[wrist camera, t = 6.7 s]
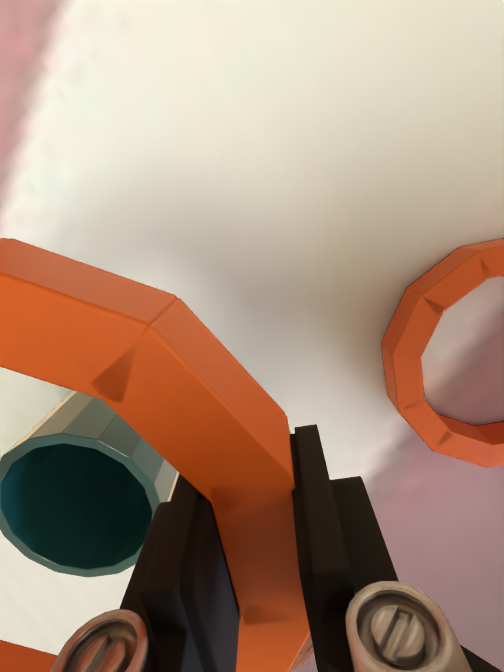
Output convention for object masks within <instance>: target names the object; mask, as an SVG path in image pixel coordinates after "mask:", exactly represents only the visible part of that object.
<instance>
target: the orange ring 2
mask: <svg viewBox="0 0 504 672" xmlns="http://www.w3.org/2000/svg"><path fill="white" fill-rule="evenodd" d="M500 276H504V238H502V239H497V240H492V241H487V242H482V243H477V244H472V245H467V246H462V247H460V248H457V249H456V250H455V251H454V252H452V253H451V254H450V255H449V256H447V257H446V258H445V259H443V260H442V261H441V262H440V263H438V264H437V265H436V266H435V267H433V268H432V269H431V270H429V271H428V272H427V273H426V274H424V275H423V276H422V277H421V278H419V279H418V280H417V281H415V282H414V283H413V284H412V285H410V286H409V287H408V288H407V289H406V290H405V292H404V294H403V297H402V299H401V301H400V303H399V305H398V307H397V310H396V312H395V314H394V316H393V318H392V321H391V323H390V325H389V327H388V329H387V331H386V334H385V336H384V338H383V340H382V342H381V343H382V344H381V345H382V354H383V362H384V371H385V379H386V388H387V395H388V397H389V398H390V400H391V402H392V403H393V405H394V406H395V408H396V409H397V411H398V412H399V413H400V414H401V415H402V417H403V418H404V419H405V420H406V421H407V422H408V423H409V425H410V426H411V427H412V428H413V429H414V430H415V431H416V433H417V434H418V435H419V436H420V437H421V438H422V440H423V441H424V442H425V443H426V444H427V445H428V446H429V448H430V449H431V450H432V451H435V452H438V453H441V454H444V455H448V456H451V457H454V458H457V459H460V460H464V461H467V462H470V463H473V464H476V465H480V466H483V467H487V468H488V467H495V466H501V465H504V422H498V423H492V424H486V425H479V426H472V425H469V424H466V423H463V422H460V421H457V420H453V419H450V418H447V417H444V416H441V415H438V414H436V413H435V412H434V410H433V409H432V408H431V407H430V406H429V404H428V403H427V402H426V401H425V400H424V389H423V377H422V365H421V356H422V354H423V352H424V350H425V348H426V346H427V344H428V342H429V340H430V338H431V336H432V334H433V332H434V330H435V328H436V326H437V324H438V322H439V320H440V318H441V316H442V314H443V312H444V311H445V310H447V309H448V308H449V307H451V306H452V305H453V304H455V303H456V302H457V301H459V300H460V299H461V298H463V297H464V296H465V295H467V294H468V293H469V292H471V291H472V290H473V289H475V288H476V287H477V286H479V285H480V284H481V283H483V282H484V281H485V280H487V279H490V278H495V277H500Z"/></svg>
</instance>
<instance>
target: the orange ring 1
mask: <svg viewBox="0 0 504 672" xmlns="http://www.w3.org/2000/svg"><path fill="white" fill-rule="evenodd" d="M0 367H3V368H6V369H10V370H13V371H16V372H19V373H22V374H25V375H28V376H31V377H34V378H37V379H40V380H43V381H46V382H50V383H53V384H56V385H59V386H62V387H65V388H68V389H71V390H74V391H77V392H80V393H83V394H86V395H90V396H93V397H96V398H99V399H102V400H103V401H104V402H105V403H106V404H107V405H109V406H110V407H111V408H112V409H113V410H114V411H115V412H116V413H117V414H118V415H119V416H120V417H121V418H122V419H123V420H124V421H125V422H126V423H127V424H128V425H130V426H131V427H132V428H133V429H134V430H135V431H136V432H137V433H138V434H139V435H140V436H141V437H142V438H143V439H144V440H145V441H146V442H147V443H148V444H149V445H151V446H152V447H153V448H154V449H155V450H156V451H157V452H158V453H159V454H160V455H161V456H162V457H163V458H164V459H165V460H166V461H167V462H168V463H169V464H170V465H172V466H173V467H174V468H175V469H176V470H177V471H178V472H179V473H180V474H181V475H182V476H183V477H184V478H185V479H186V480H187V481H188V482H189V483H190V484H191V485H193V486H194V487H195V488H196V489H197V490H198V491H199V492H200V493H201V494H202V495H203V496H204V497H205V498H206V499H207V500H208V501H209V502H210V503H211V506H212V510H213V514H214V518H215V522H216V525H217V529H218V533H219V537H220V541H221V544H222V548H223V552H224V556H225V559H226V563H227V567H228V571H229V575H230V578H231V582H232V586H233V590H234V594H235V597H236V601H237V605H238V609H239V617H240V619H239V635H238V650H237V665H236V672H288V671H289V670H290V668H291V666H292V664H293V663H294V661H295V659H296V657H297V655H298V654H299V652H300V650H301V648H302V647H303V645H304V643H305V641H306V640H307V638H308V636H309V634H310V629H309V623H308V618H307V613H306V608H305V603H304V598H303V592H302V587H301V581H300V574H299V566H298V557H297V546H296V535H295V524H294V513H293V502H292V490H294V489H295V480H294V470H293V461H292V452H291V442H290V431H289V425H288V419H287V416H286V415H285V412H284V411H283V410H282V409H281V408H280V407H279V406H278V405H277V403H276V402H275V401H274V400H273V399H272V398H271V397H270V396H269V395H268V394H267V393H266V391H265V390H264V389H263V388H262V387H261V386H260V385H259V384H258V383H257V382H256V381H255V379H254V378H253V377H252V376H251V375H250V374H249V373H248V372H247V371H246V370H245V369H244V367H243V366H242V365H241V364H240V363H239V362H238V361H237V360H236V359H235V358H234V357H233V355H232V354H231V353H230V352H229V351H228V350H227V349H226V348H225V347H224V346H223V345H222V343H221V342H220V341H219V340H218V339H217V338H216V337H215V336H214V335H213V334H212V333H211V332H210V330H209V329H208V328H207V327H206V326H205V325H204V324H203V323H202V322H201V321H200V320H199V318H198V317H197V316H196V315H195V314H194V313H193V312H192V311H191V310H190V309H189V308H188V306H187V305H186V304H185V303H184V302H183V301H182V300H181V299H179V298H177V297H176V296H175V295H173V294H170V293H167V292H165V291H162V290H159V289H156V288H153V287H150V286H147V285H145V284H142V283H139V282H136V281H133V280H130V279H127V278H124V277H122V276H119V275H116V274H113V273H110V272H107V271H104V270H102V269H99V268H96V267H93V266H90V265H87V264H84V263H82V262H79V261H76V260H73V259H70V258H67V257H64V256H61V255H59V254H56V253H53V252H50V251H47V250H44V249H41V248H39V247H36V246H33V245H30V244H27V243H24V242H21V241H18V240H16V239H7V238H0ZM56 658H57V655H53V654H50V653H46V652H42V651H39V650H35V649H31V648H28V647H24V646H21V645H17V644H13V643H10V642H6V641H2V640H0V672H50V670H51V668H52V666H53V664H54V662H55V660H56Z"/></svg>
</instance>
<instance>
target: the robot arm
mask: <svg viewBox="0 0 504 672" xmlns="http://www.w3.org/2000/svg"><path fill="white" fill-rule="evenodd" d="M290 442H291V452H292V461H293V470H294V480H295V489H294V490H292V502H293V513H294V524H295V535H296V546H297V557H298V566H299V574H300V581H301V587H302V592H303V598H304V603H305V608H306V613H307V618H308V623H309V629H310V634H311V639H312V644H313V649H314V654H315V660H316V665H317V670H318V672H502V671H500V670H499V669H497V668H496V667H494V666H492V665H491V664H489V663H488V662H486V661H485V660H483V659H482V658H480V657H478V656H477V655H475V654H474V653H472V652H471V651H469V650H468V649H466V648H464V647H463V646H461V645H460V644H459V642H458V640H457V638H456V636H455V634H454V631H453V629H452V627H451V625H450V623H449V621H448V619H447V618H446V616H445V615H444V613H443V611H442V610H441V608H440V607H439V605H438V604H437V603H435V602H434V601H433V600H432V599H431V598H430V597H429V596H428V595H427V594H426V593H424V592H422V591H420V590H419V589H417V588H415V587H413V586H411V585H408V584H404V583H401V582H399V581H398V578H397V575H396V572H395V570H394V567H393V564H392V561H391V558H390V556H389V553H388V550H387V547H386V544H385V542H384V539H383V536H382V533H381V530H380V528H379V525H378V522H377V519H376V516H375V514H374V511H373V508H372V505H371V502H370V500H369V497H368V494H367V491H366V489H365V486H364V483H363V481H362V478H361V477H360V476H358V477H351V478H343V479H335V480H330V479H329V475H328V471H327V467H326V462H325V458H324V454H323V449H322V445H321V441H320V437H319V432H318V428H317V425H309V426H302V427H295V434H290ZM239 619H240V617H239V609H238V605H237V601H236V597H235V594H234V590H233V586H232V582H231V578H230V575H229V571H228V567H227V563H226V559H225V556H224V552H223V548H222V544H221V541H220V537H219V533H218V529H217V525H216V522H215V518H214V514H213V510H212V506H211V503H210V502H209V501H208V500H207V499H206V498H205V497H204V496H203V495H202V494H201V493H200V492H199V491H198V490H197V489H196V488H195V487H194V486H193V485H191V484H190V483H189V482H188V481H187V480H186V479H185V478H184V477H183V476H182V475H181V474H180V473H179V475H178V478H177V482H176V485H175V488H174V491H173V494H172V497H171V500H170V501H168V502H161V503H160V504H159V505H158V507H157V509H156V511H155V514H154V517H153V519H152V522H151V525H150V527H149V530H148V533H147V535H146V538H145V541H144V544H143V546H142V549H141V552H140V554H139V557H138V560H137V563H136V565H135V568H134V571H133V573H132V576H131V579H130V582H129V584H128V587H127V590H126V592H125V595H124V598H123V600H122V603H121V606H120V609H117V610H113V611H108V612H105V613H103V614H101V615H99V616H97V617H95V618H93V619H91V620H90V621H88V622H87V623H86V624H84V625H83V626H82V627H80V628H79V629H78V630H77V631H76V632H75V633H74V634H73V635H72V637H71V638H70V639H69V640H68V641H67V642H66V643H65V645H64V647H63V648H62V650H61V651H60V653H59V655H58V656H57V658H56V660H55V662H54V664H53V666H52V668H51V670H50V672H236V665H237V650H238V635H239Z"/></svg>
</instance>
